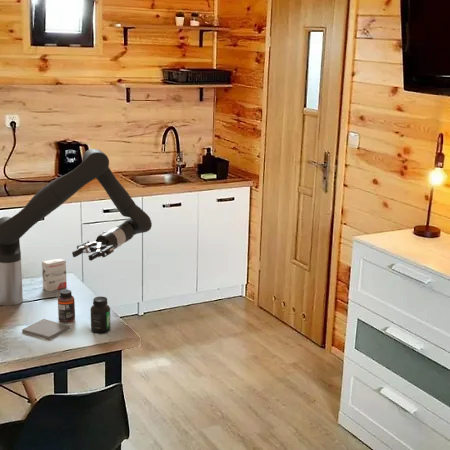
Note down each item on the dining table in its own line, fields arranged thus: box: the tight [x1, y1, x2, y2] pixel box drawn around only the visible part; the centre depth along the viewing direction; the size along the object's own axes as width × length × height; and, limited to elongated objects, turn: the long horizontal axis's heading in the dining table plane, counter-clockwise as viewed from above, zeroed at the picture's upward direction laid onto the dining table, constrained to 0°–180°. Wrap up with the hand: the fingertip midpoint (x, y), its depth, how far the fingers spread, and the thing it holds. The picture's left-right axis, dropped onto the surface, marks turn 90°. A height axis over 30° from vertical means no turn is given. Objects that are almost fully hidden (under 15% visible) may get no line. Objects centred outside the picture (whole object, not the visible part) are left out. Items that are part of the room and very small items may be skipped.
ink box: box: [41, 257, 68, 292], centre depth 288 cm, size 9×5×12 cm, turn 130°
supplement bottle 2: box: [90, 296, 111, 335], centre depth 249 cm, size 7×7×12 cm
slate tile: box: [21, 318, 71, 341], centre depth 248 cm, size 12×11×1 cm
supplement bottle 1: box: [57, 289, 76, 324], centre depth 256 cm, size 6×6×11 cm
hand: (81, 256), depth 260 cm, fingers open, 8 cm apart
